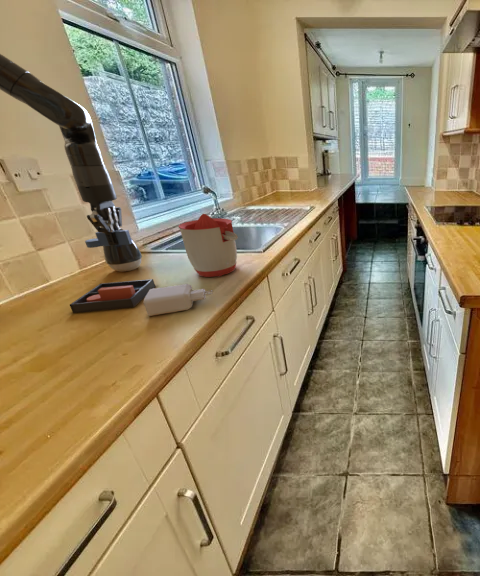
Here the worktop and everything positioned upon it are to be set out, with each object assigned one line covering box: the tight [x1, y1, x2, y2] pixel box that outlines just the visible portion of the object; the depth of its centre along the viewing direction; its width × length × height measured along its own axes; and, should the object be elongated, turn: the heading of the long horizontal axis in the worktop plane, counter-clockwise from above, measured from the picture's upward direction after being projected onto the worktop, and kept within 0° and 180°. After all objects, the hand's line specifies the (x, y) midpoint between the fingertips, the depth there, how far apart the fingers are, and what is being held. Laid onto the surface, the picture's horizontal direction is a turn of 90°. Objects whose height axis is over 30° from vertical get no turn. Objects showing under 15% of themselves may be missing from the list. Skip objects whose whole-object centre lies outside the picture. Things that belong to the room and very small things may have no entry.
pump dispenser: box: [102, 227, 143, 273], centre depth 110 cm, size 10×10×15 cm
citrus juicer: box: [177, 213, 239, 278], centre depth 106 cm, size 16×17×20 cm
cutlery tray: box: [69, 278, 156, 314], centre depth 90 cm, size 14×14×2 cm
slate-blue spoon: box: [84, 229, 133, 249], centre depth 93 cm, size 4×11×4 cm, turn 104°
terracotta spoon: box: [87, 285, 135, 302], centre depth 87 cm, size 4×11×4 cm, turn 104°
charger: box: [143, 283, 214, 317], centre depth 86 cm, size 5×9×15 cm
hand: (116, 243), depth 95 cm, fingers closed on slate-blue spoon, 2 cm apart
